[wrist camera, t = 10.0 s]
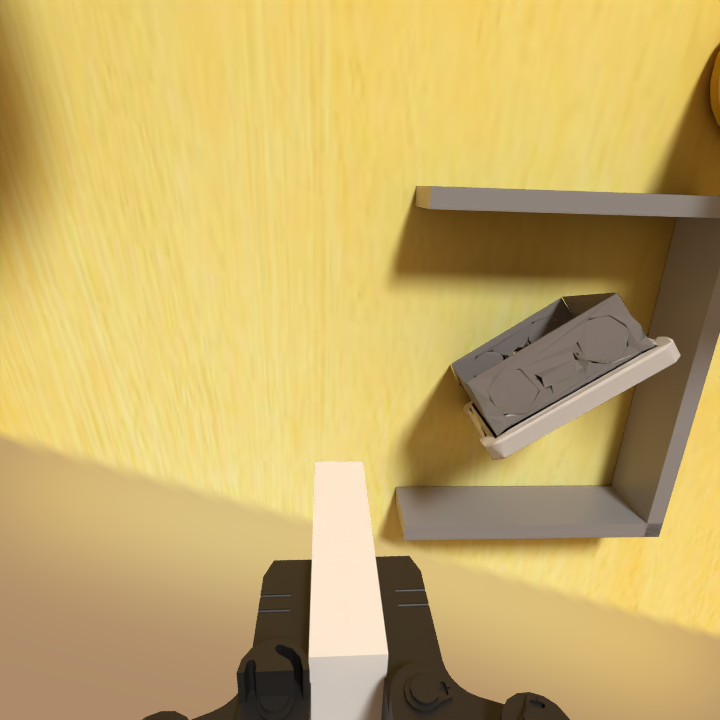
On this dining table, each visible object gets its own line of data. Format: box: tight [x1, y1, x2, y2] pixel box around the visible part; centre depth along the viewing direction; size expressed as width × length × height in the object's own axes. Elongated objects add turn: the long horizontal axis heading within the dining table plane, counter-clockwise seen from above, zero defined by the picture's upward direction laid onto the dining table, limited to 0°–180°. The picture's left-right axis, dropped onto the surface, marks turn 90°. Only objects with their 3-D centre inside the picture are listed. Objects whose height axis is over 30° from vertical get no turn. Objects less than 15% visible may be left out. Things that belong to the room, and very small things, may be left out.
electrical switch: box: [451, 293, 681, 460], centre depth 25 cm, size 9×5×9 cm, turn 123°
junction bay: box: [395, 186, 720, 540], centre depth 28 cm, size 20×16×4 cm
